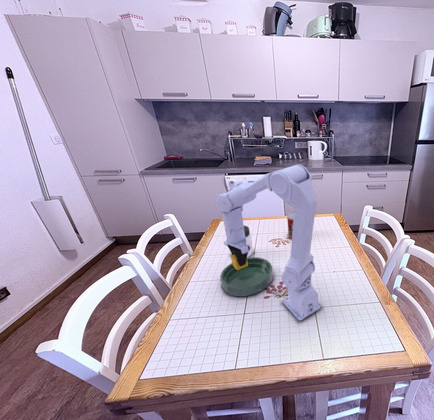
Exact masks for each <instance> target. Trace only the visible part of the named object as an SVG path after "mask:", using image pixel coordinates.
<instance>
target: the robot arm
mask: <svg viewBox="0 0 434 420" xmlns="http://www.w3.org/2000/svg"><path fill="white" fill-rule="evenodd" d="M312 179H313V175H312V174H311V173H310V172H309V170H308V169H307V168H306V166H304V165H303V164H299V163H296V164H293V165H292V166H288V167H284V168H281V169H278V170H277V169H276V170H274V171H271V172H268V173H265V174H264V175H263V176H261V177H259V178H258V179H256V180H254V181H253V182H251V183H250V182H247V181H245V182H244V181H240V182H237V183H236V186H235V187H231V188H230V187H229V188H228V189H227V192H224V193H219V194H218V195H217V196H216V198H215V205H216V207H217V209H218V210H219V211H220V212H221V214H222V220H223V224H224V231H225V236H226V237H225V238H226V240H223V245H224V246H227V248H228V250H229V252H230V255H235V256H236V259H237V262H238V264H239V266H243V265H246V260H247V255H248V252H249V250H250V246H249V245H247V242H246V237H245V232H244V226H245V225H244V218H243V211H244V208H243V207H244V205H247V204H248V203H251V202H252V201H254V200H255V199H256V198H257V194H259V193H261V192H263V191H265V190H267V189H268V191H269V192H273V193H274V194H275V195H277V196H278V197H279V199H282V201H284V202H285V203H287V204H288V205H289V206H291V207H293V210H294V211H293V212H294V220H293V232H292V238H291V245H290V257H289V259H288V260H287V262H286V264H285V266H284V271H282V274H281V282H282V283H283V285H284V287H286V288H287V296H288V299H285V300H284V301H283V304H284V306H285V307H286V308H287V309H288V310H289V311H290V312H291V313H292V315H293V316H294V317H295V318H296V319H297V320H298V321H300V322H301V321H302V320H304V319H305V318H307V317H309V316H310V315H312V314H314V313H315V312H317V311H319V310H320V309H321V305H320V304H319V293H318V292H317V291H316V289H315V288H314V286H313V283H312V274H313V273H314V272H315V269H316V264H315V262H314V258H315V257H314V255H313V254H312V253H311V248H312V242H313V241H312V240H313V232H314V223H315V215H316V208H317V198H316V195H315V191H314V188H313V185H312Z"/></svg>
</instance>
